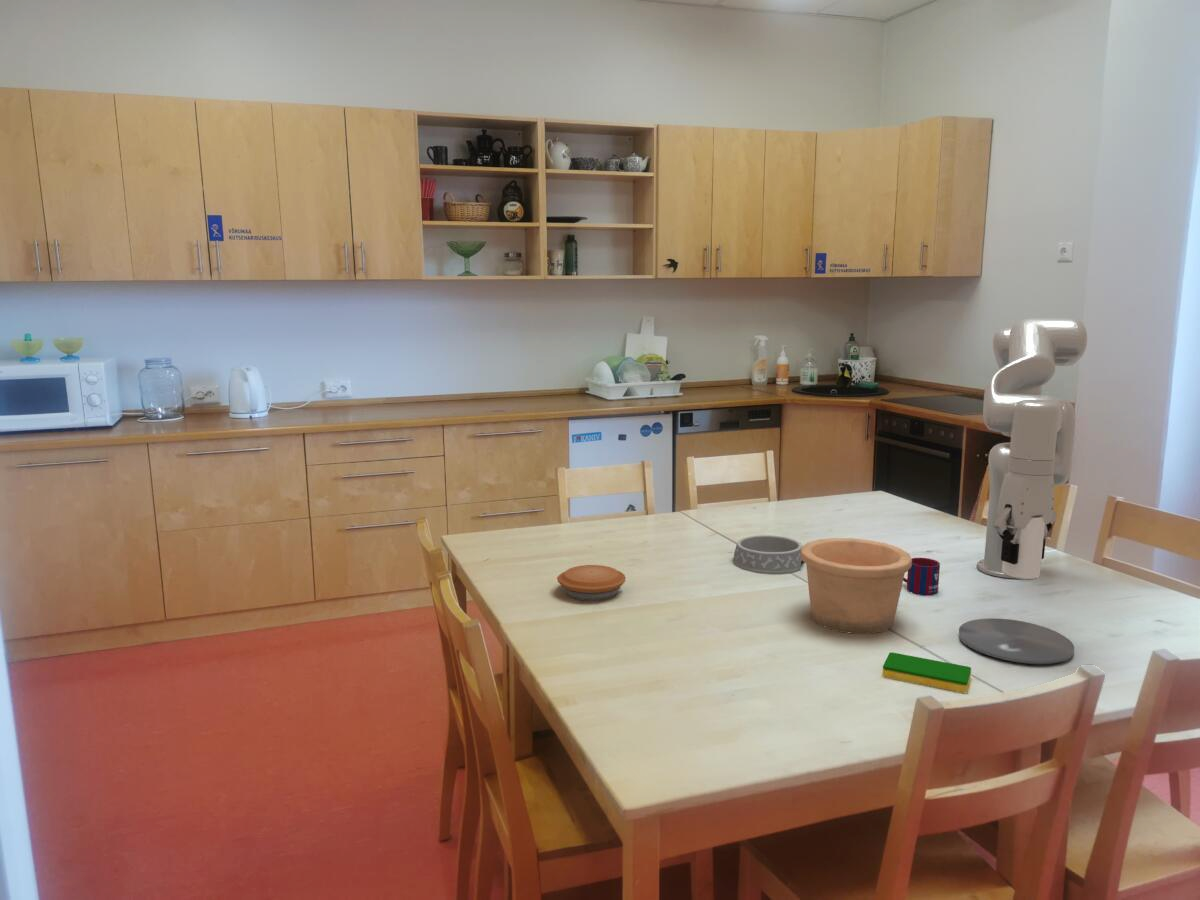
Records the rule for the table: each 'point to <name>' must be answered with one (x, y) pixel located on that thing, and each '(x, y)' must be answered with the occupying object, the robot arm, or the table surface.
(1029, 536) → the can
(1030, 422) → the robot arm
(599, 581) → the pie
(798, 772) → the table surface
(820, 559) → the pottery
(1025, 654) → the dish
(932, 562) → the mug
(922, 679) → the dish sponge
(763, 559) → the dog bowl
